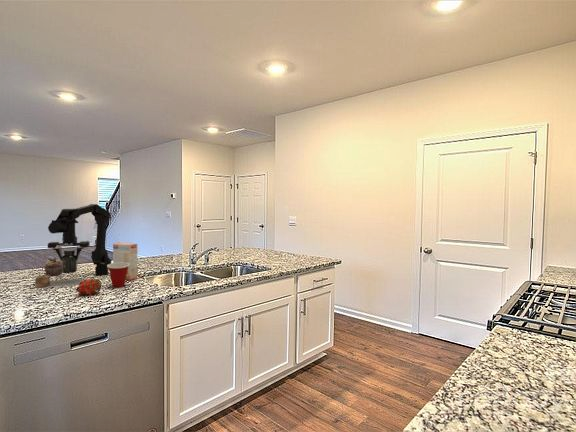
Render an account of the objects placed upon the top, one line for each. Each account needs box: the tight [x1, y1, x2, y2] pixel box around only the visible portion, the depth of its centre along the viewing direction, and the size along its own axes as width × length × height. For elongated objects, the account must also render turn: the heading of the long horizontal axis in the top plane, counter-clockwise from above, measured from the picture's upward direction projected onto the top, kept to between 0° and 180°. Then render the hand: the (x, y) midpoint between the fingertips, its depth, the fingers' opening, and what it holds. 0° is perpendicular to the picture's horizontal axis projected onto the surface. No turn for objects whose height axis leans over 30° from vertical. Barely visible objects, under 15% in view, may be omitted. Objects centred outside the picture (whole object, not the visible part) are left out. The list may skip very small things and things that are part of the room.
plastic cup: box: [107, 262, 129, 288], centre depth 181 cm, size 11×11×12 cm
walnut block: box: [34, 274, 51, 289], centre depth 175 cm, size 5×5×5 cm
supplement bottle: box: [61, 249, 78, 274], centre depth 184 cm, size 7×7×12 cm
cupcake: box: [44, 257, 63, 277], centre depth 205 cm, size 10×10×10 cm
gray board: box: [37, 278, 85, 289], centre depth 181 cm, size 20×14×1 cm
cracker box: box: [112, 242, 138, 281], centre depth 199 cm, size 14×6×21 cm, turn 65°
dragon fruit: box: [75, 277, 102, 296], centre depth 165 cm, size 8×8×12 cm
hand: (69, 260), depth 184 cm, fingers closed on supplement bottle, 7 cm apart
